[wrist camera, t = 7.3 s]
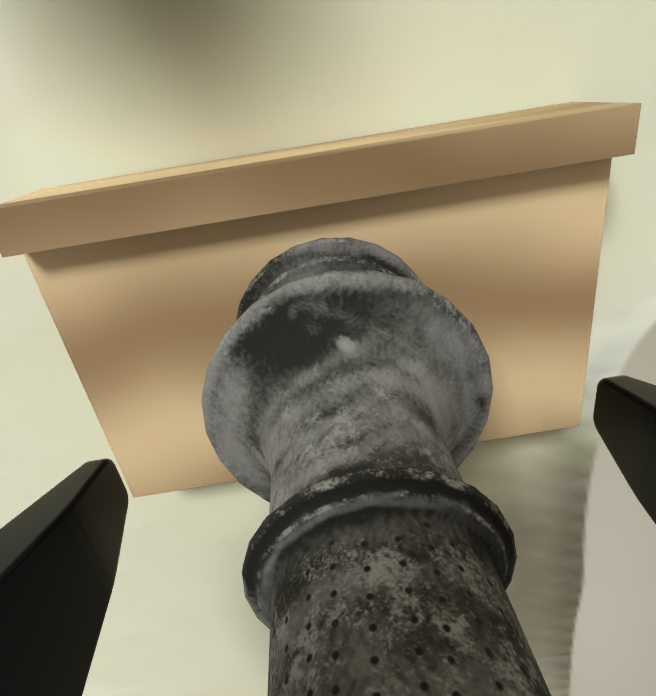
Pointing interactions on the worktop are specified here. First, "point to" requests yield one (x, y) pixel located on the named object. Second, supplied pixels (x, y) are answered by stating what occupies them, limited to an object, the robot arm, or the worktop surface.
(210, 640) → the worktop surface
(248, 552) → the salt shaker
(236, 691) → the worktop surface
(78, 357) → the dock
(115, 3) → the worktop surface
